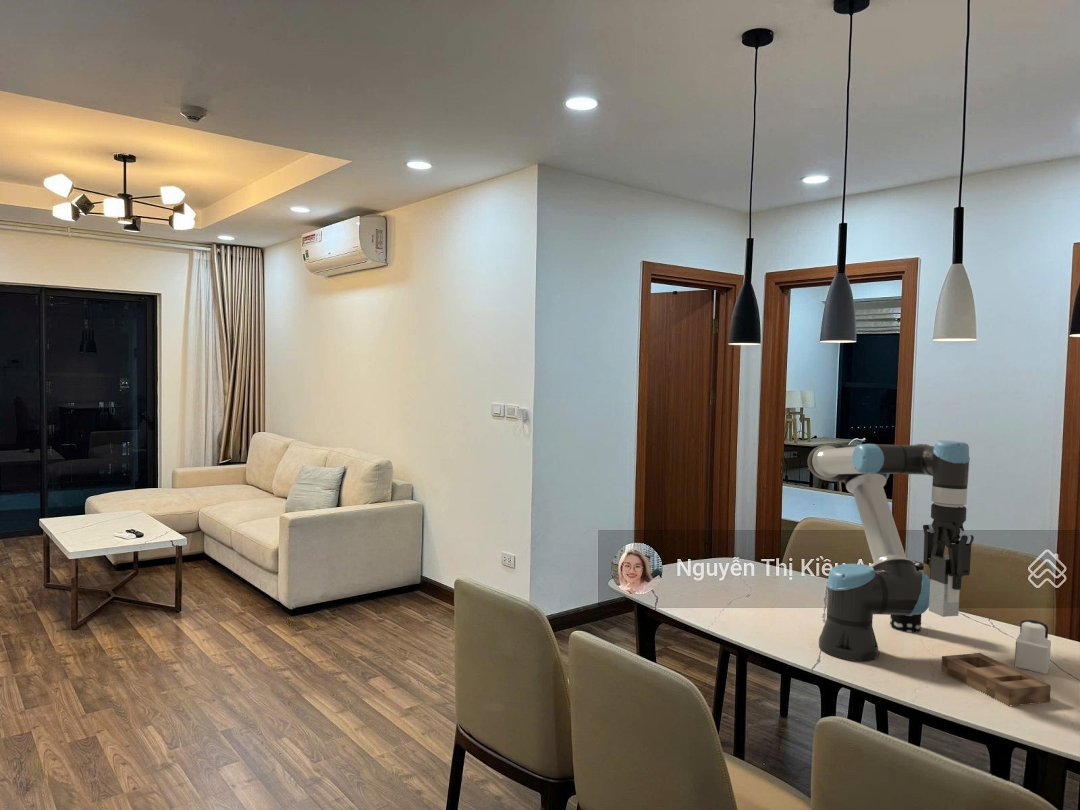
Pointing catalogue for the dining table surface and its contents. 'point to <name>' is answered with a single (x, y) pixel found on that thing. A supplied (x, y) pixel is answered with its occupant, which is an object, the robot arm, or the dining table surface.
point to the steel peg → (941, 587)
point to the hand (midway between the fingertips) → (944, 598)
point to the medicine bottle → (1033, 647)
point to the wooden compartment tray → (996, 679)
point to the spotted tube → (911, 621)
